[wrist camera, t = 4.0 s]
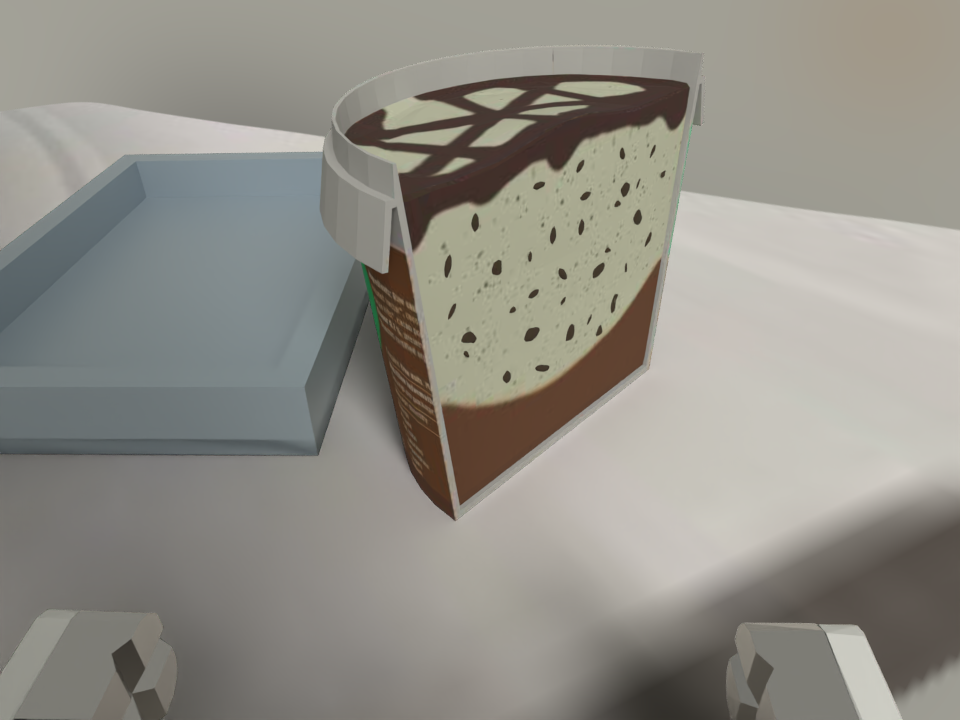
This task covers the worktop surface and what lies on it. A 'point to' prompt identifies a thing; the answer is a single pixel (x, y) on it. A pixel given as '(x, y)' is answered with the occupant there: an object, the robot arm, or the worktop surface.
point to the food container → (510, 240)
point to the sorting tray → (179, 312)
